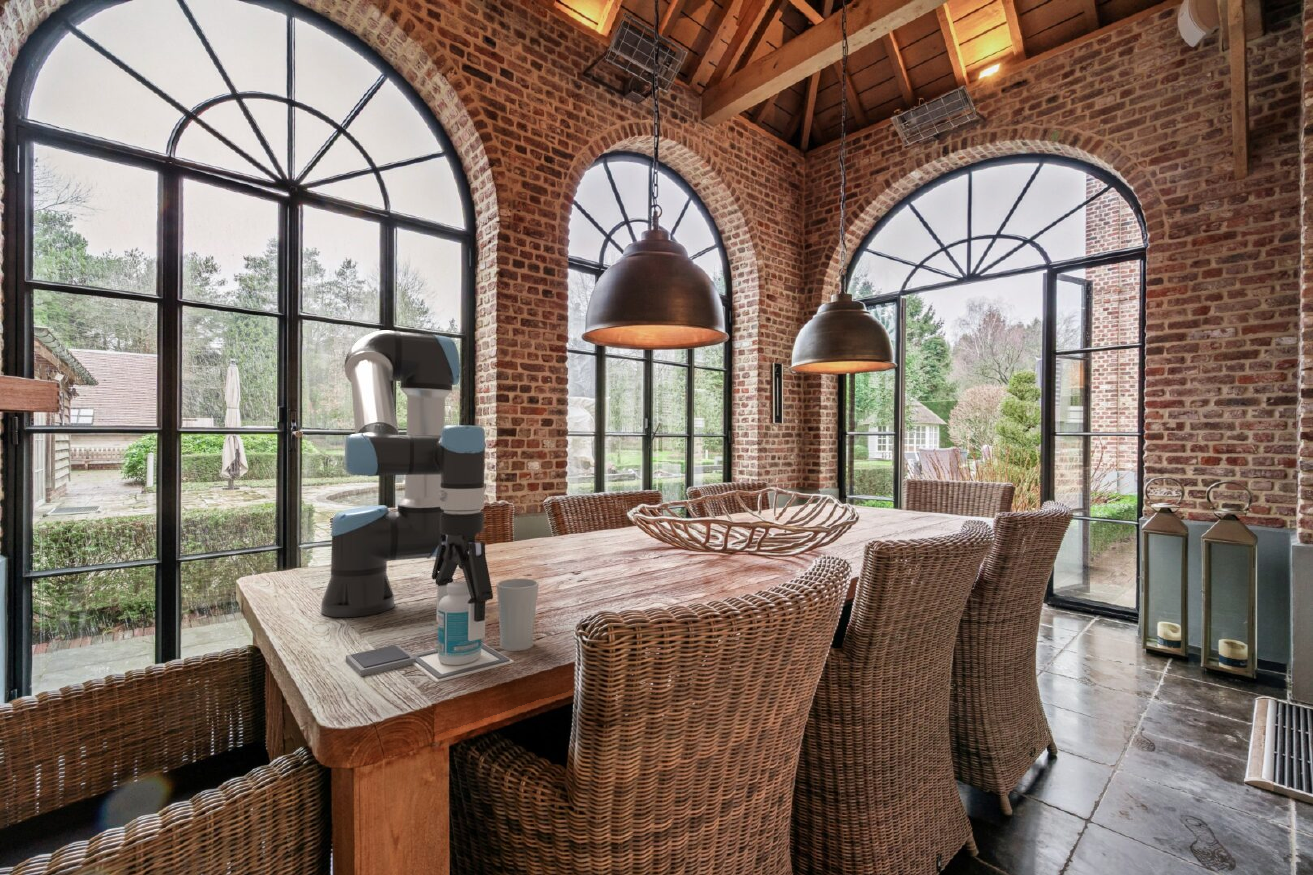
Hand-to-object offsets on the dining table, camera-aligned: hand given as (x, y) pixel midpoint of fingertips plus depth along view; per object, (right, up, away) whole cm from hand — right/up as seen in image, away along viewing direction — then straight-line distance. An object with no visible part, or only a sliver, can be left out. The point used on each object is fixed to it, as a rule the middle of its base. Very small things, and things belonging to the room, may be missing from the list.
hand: (459, 629), depth 108 cm
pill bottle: (0, -5, 0) cm, 6 cm away
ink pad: (-14, -5, -2) cm, 15 cm away
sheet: (0, -6, 0) cm, 6 cm away
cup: (+8, -6, +9) cm, 13 cm away
